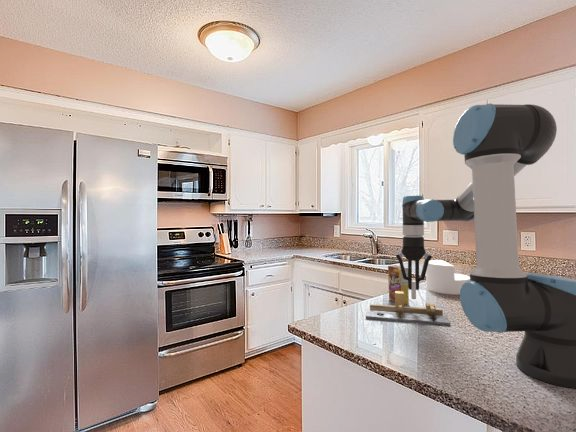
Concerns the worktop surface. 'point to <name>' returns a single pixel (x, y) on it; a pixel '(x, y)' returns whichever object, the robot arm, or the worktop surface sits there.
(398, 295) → the jaw
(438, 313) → the beam
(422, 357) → the worktop surface
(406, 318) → the plate
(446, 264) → the container
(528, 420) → the worktop surface
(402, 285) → the candy box
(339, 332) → the worktop surface
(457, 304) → the worktop surface
